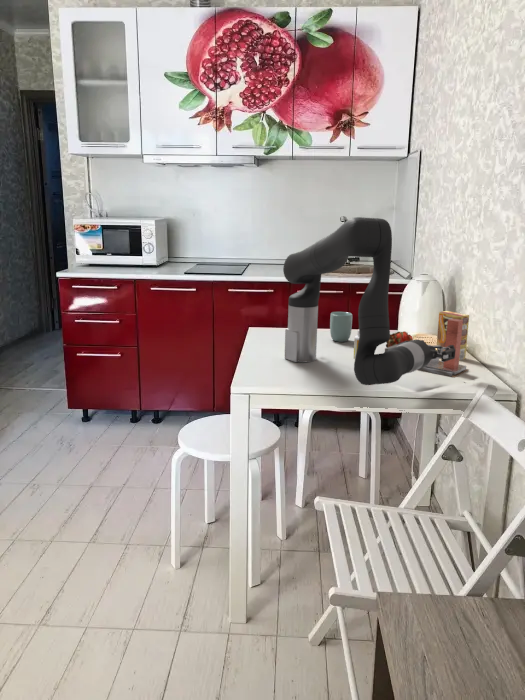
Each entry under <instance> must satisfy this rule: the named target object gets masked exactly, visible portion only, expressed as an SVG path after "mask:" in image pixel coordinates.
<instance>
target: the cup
mask: <svg viewBox="0 0 525 700" xmlns="http://www.w3.org/2000/svg"><path fill="white" fill-rule="evenodd" d="M352 326H353V314H352V313H351V312H347V311H332V312H331V313H330V319H329V329H330V330H329V331H330V332H329V333H330V337H331V339H332V340H333V341H334V342H337V343H338V342H339V343H344V342H348V341H349V340H350V338H351V334H352V329H353V328H352Z"/></svg>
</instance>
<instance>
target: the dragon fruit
mask: <svg viewBox="0 0 525 700" xmlns="http://www.w3.org/2000/svg"><path fill="white" fill-rule="evenodd" d="M412 340H414V337H413V336H412V335H411V334H408V331H397V332H393V333H392V334H391V333H390V339H389V340H388V341H387V342H385V343H386V344H385V347H386V348H388V347H391V346H394V345H397V344H399V343H402V342H404V341H412Z"/></svg>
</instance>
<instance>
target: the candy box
mask: <svg viewBox="0 0 525 700" xmlns="http://www.w3.org/2000/svg"><path fill="white" fill-rule="evenodd" d="M452 318H453V319H460V320H463V326H462V336H461V346H460V356H459V361H462V360H465V359H466V355H467V354H466V353H467V344H468V343H467V342H468V332H469V322H470V314H466V313H465V314H464V313H460V312H455V311H450V310H445V311H439V312H438V323H437V335H436V345H440V346H442V347H445V344H446V333H447V322H448V320H449V319H452ZM437 350H438V348H437ZM442 351H443V350H442ZM444 351H445V350H444Z"/></svg>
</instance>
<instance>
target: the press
mask: <svg viewBox="0 0 525 700" xmlns="http://www.w3.org/2000/svg"><path fill="white" fill-rule="evenodd" d="M397 346H398V344H397V345H394V346H391V347H388V348H387V347H386V348H384V352H385V351H387V350H389V349H391V348H394V347H397ZM439 361H440V362H443V361H441V360H439ZM460 365H461V366H465V365H463V364H460ZM417 371H419V372H420V371H421V372H426V373H431V374H435V375H441V376H444V377H449V378H457V377H458V376H460V375H462V374H464V373H466V372H469V369H468V368H466V370H464V371H462V372H460V373H458V374H456V375H452V374H453V373H451V372H446V371H441V370H436V369H431V368H426V367H423V368H421V369H418V370H417Z"/></svg>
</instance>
